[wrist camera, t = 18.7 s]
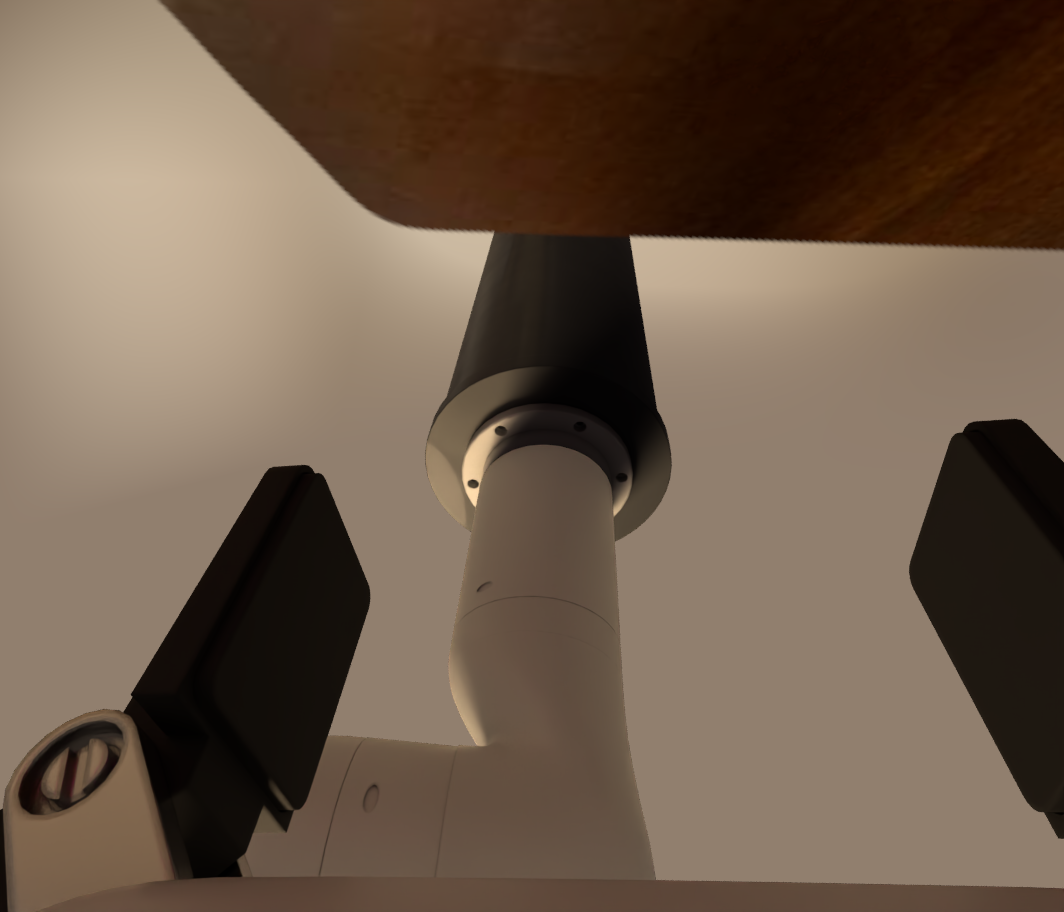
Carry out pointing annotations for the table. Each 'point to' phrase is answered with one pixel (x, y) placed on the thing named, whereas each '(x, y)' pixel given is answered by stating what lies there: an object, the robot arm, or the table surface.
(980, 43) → the table surface
